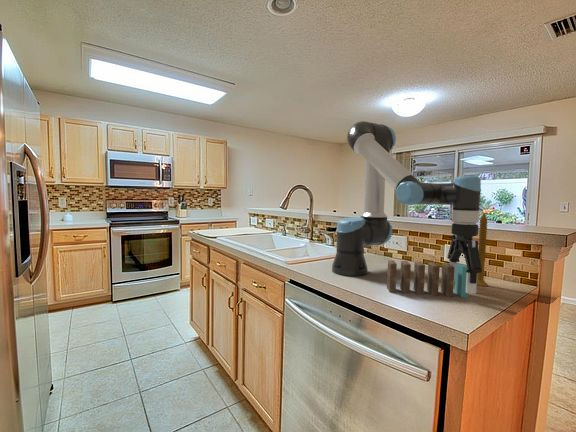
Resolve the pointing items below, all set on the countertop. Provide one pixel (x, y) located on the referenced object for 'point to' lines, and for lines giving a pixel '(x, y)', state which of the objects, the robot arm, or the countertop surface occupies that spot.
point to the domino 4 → (433, 278)
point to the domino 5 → (447, 279)
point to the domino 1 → (391, 276)
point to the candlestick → (482, 249)
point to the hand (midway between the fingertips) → (461, 286)
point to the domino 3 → (419, 277)
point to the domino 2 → (405, 277)
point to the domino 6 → (461, 280)
